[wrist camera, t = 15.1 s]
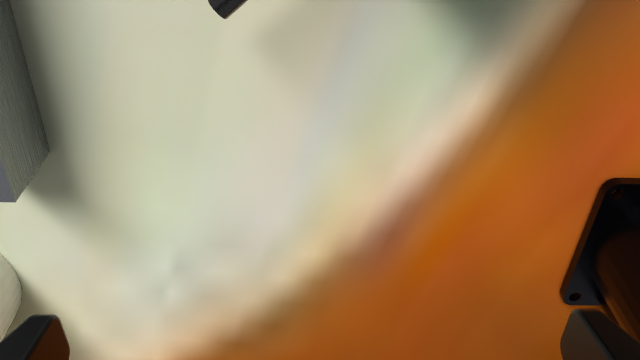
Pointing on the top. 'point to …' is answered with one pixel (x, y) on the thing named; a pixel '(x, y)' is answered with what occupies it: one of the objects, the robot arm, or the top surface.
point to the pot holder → (17, 115)
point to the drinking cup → (226, 6)
